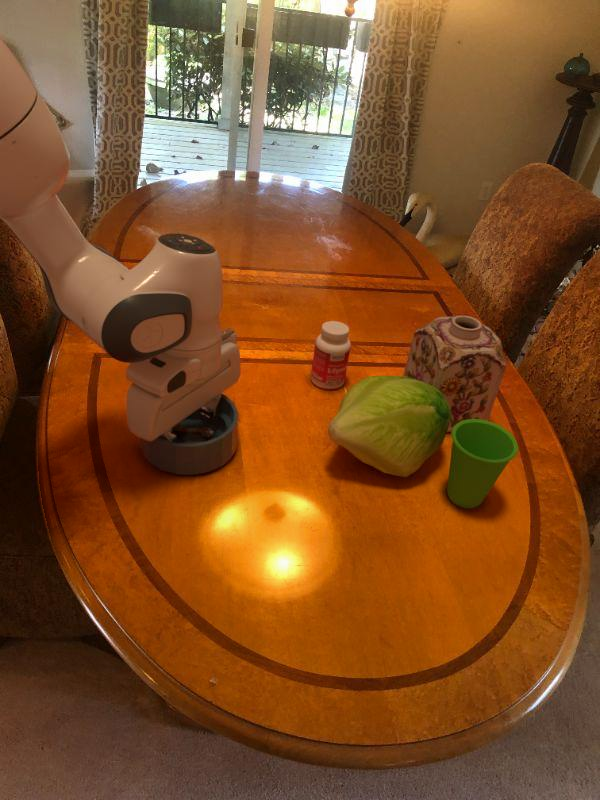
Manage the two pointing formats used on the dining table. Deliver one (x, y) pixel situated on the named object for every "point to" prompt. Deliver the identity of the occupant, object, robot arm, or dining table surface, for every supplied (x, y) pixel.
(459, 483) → the cup
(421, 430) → the lettuce
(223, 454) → the basin
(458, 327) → the decorative jar
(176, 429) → the brown buckled strap
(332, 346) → the pill bottle
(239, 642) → the dining table surface
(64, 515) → the dining table surface
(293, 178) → the dining table surface
